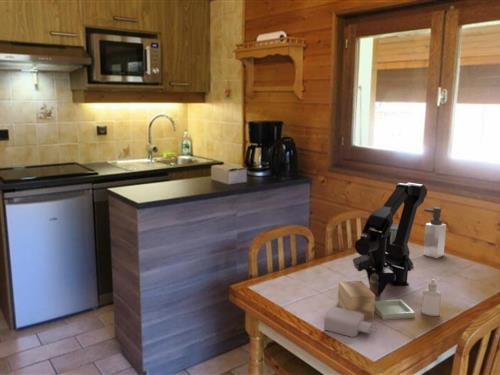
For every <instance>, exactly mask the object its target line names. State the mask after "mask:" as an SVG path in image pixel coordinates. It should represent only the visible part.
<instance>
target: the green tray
mask: <svg viewBox="0 0 500 375" xmlns="http://www.w3.org/2000/svg"><path fill="white" fill-rule="evenodd" d="M374 313H376V314H377V315H378V316H379V318H381V320H383V321H384V320H394V319H395V320H397V319H399V320H400V319H411V318H415V317H416V312H415V311H414V310H413V308H411V307H410V306H409V305H408V304H407V303H405V301H403V299H401V298H399V299H384V300H383V299H382V300H375V309H374Z"/></svg>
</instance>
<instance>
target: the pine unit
mask: <svg viewBox="0 0 500 375" xmlns="http://www.w3.org/2000/svg"><path fill="white" fill-rule="evenodd" d="M337 294H338V295H337V296H338V297H337V305H338V306H339V308H342V309H346V310H350V311H355V312H359V313H362V314H363V316H364V320H372V319H375V311H374V309H375V301H376V296H375V295H374V294H373V292H372V291H371V290H370V287H368V286H367V285H366V284H365V283H364V282H363V281H362V280H352V281H351V280H350V281H338V293H337Z"/></svg>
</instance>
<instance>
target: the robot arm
mask: <svg viewBox="0 0 500 375" xmlns="http://www.w3.org/2000/svg"><path fill="white" fill-rule="evenodd" d="M427 195H428V189H427V188H426V185H424V184H420V183H413V182H407V183H401V182H399V183H397V184H396V187H395V189H394V190H393V192H392V193H391V194H390V195H389V197H388V198H387V200H386V201H385V202H384V203H383V205H382V207H379V208H377V209H375V210H374V211H373V212H372V213H371V214H370V215H369V216H368V217H367V220H366V222H365V225H364V226H363V229H362V232H361V233H362V235H360V236H359V237H360V238H359V239H357V240H356V241H355V244H354V248H355V249H354V250H355V251H356V253H357V254H358V255H359V256H356V257H355V258H353V259H352V263H353V266H354V268H355V269H356V270H357V271H358V272H362V271H364V270H365V272H366V277H367V280H368V284H369V285H368V286H370V275H371V274H374V275H375V277H373V278H374V279H375V280H376V281H377V292H378V294H381V295H382V294H383V293H384V290H385V289H386V287H387V286H388V284H391V286H392V287H393V286H395V287H397V286H399V287H400V286H409V285H410V283H409V282H408V275H409V274H408V273H409V272H411V271H412V269H413V266H414V263H413V260H412V259H411V258H410V255H411V254H410V253H411V252H410V249H409V246H408V243H409V239H410V235H411V232H412V229H413V224H414V220H415V218H416V214H417V211H418V210H417V209H418V208H419V207H420V206H422V204H423V203H424V201H425V198H426V197H427ZM402 204H403V207H402V211H401V215H400V218H399V222H398V224H397V225H398V229H397V232H396V236H395V240H394V241H393V242H392V243H391V244H388V245H387V250H386V243H387V236H388V235H390V233H389V232H388V231H389V229H390V228H391V225H392V224H394V216H395V214H396V213H397V212H398V210H399V209H400V207H401V206H402Z"/></svg>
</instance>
